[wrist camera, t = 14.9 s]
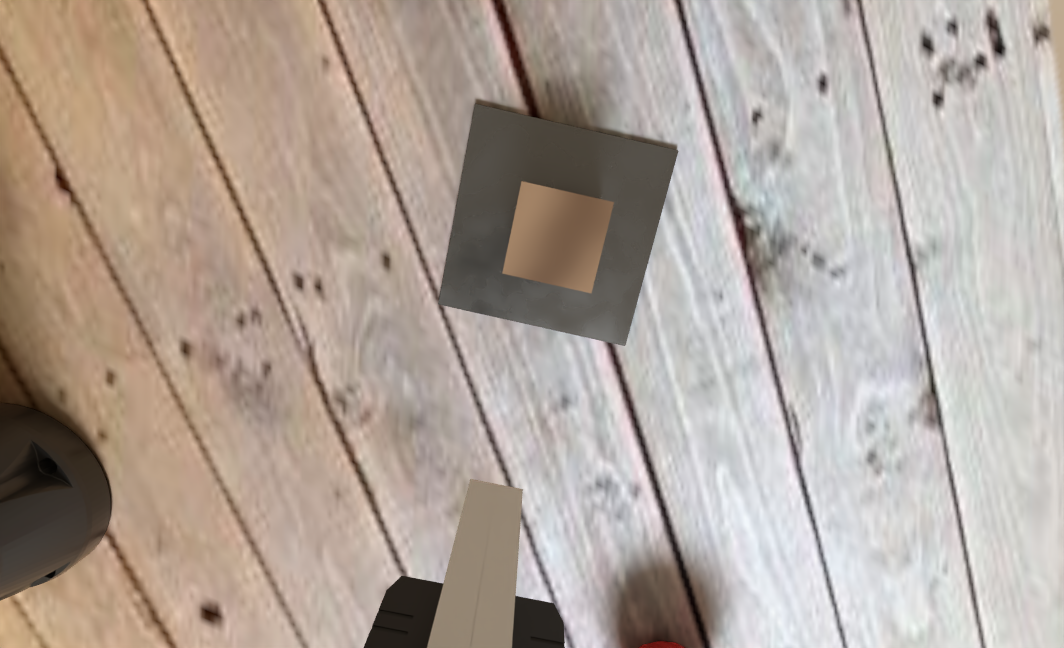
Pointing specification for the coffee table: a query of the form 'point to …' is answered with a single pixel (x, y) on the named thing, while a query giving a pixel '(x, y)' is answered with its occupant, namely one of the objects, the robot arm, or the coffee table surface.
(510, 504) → the robot arm
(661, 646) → the apple
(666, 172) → the grey square base plate
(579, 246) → the tan wooden block
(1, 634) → the coffee table surface
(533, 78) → the coffee table surface
